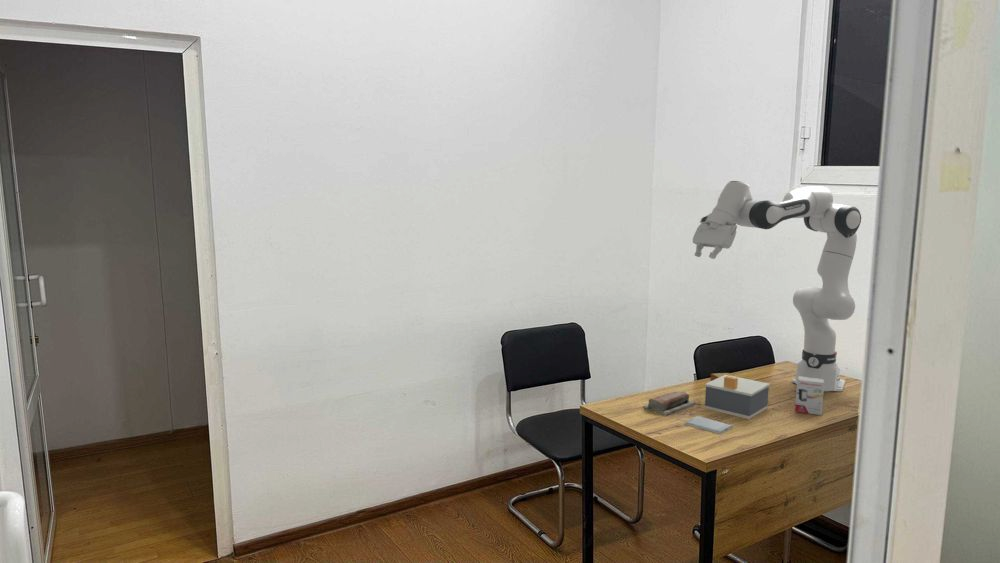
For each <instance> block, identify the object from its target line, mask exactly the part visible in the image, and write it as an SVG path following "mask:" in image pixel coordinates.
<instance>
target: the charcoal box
mask: <svg viewBox="0 0 1000 563" xmlns="http://www.w3.org/2000/svg"><path fill="white" fill-rule="evenodd" d="M769 388H770V386H769V387H767V388H766V389H764V390H762V391H760V392H758V393H756V394H755V395H753V396H747V395H743V394H738V393H733V392H729V391H724V390H720V389H715V388H711V387H706V386H705V399H704V409H705V410H711V411H714V412H719V413H722V414H727V415H731V416H735V417H739V418H742V419H743V418H744V419H747V420H750V419H752V418H754V417H756V416H757V415H758V414H760V413H762V412H763V411H765V410H766V409H768V402H769V390H770V389H769Z"/></svg>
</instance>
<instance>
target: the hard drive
mask: <svg viewBox="0 0 1000 563" xmlns="http://www.w3.org/2000/svg"><path fill="white" fill-rule="evenodd" d="M684 423H685V426H689V427H693V428H696V429H701V430H704V431H707V432H710V433H715V434H718V435H722V434H724V433H725V432H727V431H729V430H731V429H733V425H732V424H727V423H724V422H720V421H718V420H717V421H716V420H713V419H710V418H705V417H703V416H698V415H696V416H693V417H692V418H690V419H687V420H686V421H685V422H684Z"/></svg>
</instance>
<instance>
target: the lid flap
mask: <svg viewBox="0 0 1000 563" xmlns="http://www.w3.org/2000/svg"><path fill="white" fill-rule="evenodd" d="M734 376H735V375H733V376H729V375H723V376H721V377H719V378H717V379H715V380H713V381H708V382H706V383H705V384H704V387H705V388H706V387H711V388H715V389H720V390H724V391H729V392H733V393H738V394H743V395H747V396H753V395H755V394H756V393H758V392H760V391H762V390H764V389H766V388H767V387H769V388H770V387H771V383H768V382H763V381H759V380H754V379H749V378H743V377H738V376H735V377H734Z"/></svg>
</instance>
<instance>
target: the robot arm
mask: <svg viewBox="0 0 1000 563" xmlns="http://www.w3.org/2000/svg"><path fill="white" fill-rule="evenodd" d="M750 189H751V186H750V185H749V184H748V183H746V182H743V181H739V180H731V181H729V182H728V183H727V184H726V185H725V186H724V187H723V189H722V191H721V192H720V195H719V196H718V199H717V202H716V206H714V208H712V211H711V213H709V214H707V215H705V216H702V218H700V220H699V223H700V224H699V225H698V226H697V228H696V230H695V232H694V234H693V237H692V243H693V244H695V246H696V247H695V252H694V256H695V257H697V258H701V256H702V254H703V253H702V250H703V249H704V247H705V248H706V247H707V248H714V249H713V250H712V251H711V252H709V255H708V256H709V258H710V259H712V260H715V259H716V257H717V256H718V255H719V254H720V252H722V250H723V249H730V248H731V247H732V245H733V243H734V240H735V238H736V235H737V228H738V226H741V227H745V228H746V227H747V228H756V229H757V228H758V229H760V230H761V229H762V230H770V229H772V228H774V227H776V226H777V225H778V224H779V223H781V222H783V221H787V220H790V219H801V218H802V219H803V223H804V226H805V227H806V228H807V229H809V230H810V231H813V232H820V233H824V234H826V235H827V236H826V241H825V244H824V246H823V248H822V252H821V255H820V258H819V261H818V265H817V269H816V272H817V273H818V275H819V276H820V277H821V279H822V280H821V281H822V287H815V286H803V287H800V288H798V289H797V290H796V291H795V292H794V294H793V297H792V303H793V306H794V308H795V309H796V311H797V312H798V313H799V315H800V317H801V320H802V324H803V330H804V342H803V349H802V352H801V360H800V361H798V362H797V366H796V373H795V378H792V379H791V382H792V383H794V384H796V385H797V380H798V377H799V376H802V377H809V378H817V379H823V380H824V392H843V390H844V387H845V384H846V380H845V379H842V378H840V373H841V372H840V367H839V366H838V365H837V363H836V362H837V355H838V354H837V353H838V352H837V351H835V350H836V340H837V334H836V331H835V330H834V329H833V327H832V326H831V325H830V323H829V320H832V321H844V320H849V319H850V318H851V317H852V316H853V315H854V313H855V309H856V304H855V303H856V302H855V300H854V298H853V297H852V295H851V294H850V289H849V286H848V285H849V282H848V281H849V274H850V270H851V267H852V264H853V260H854V257H855V254H856V253H855V252H856V248H857V242H858V238H857V237H858V236H857V231H858V230H859V228H860V226H861V222H862V214H861V212H860V210H859V209H858V208H857V207H855V206H854V205H849V204H840V203H833V202H834V197H833V194H832V192H831V190H830V189H829V188H828V187H825V186H805V187H799V188H796V189H793V190H790V191H788V192H787V193H785V195H784V197H783V199H782V202H781V201H780V202H778V201H775V200H774V201H773V200H770V199H769V200H765V199H764V200H755V199H754V197H753V195H752V193H751V190H750Z"/></svg>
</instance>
